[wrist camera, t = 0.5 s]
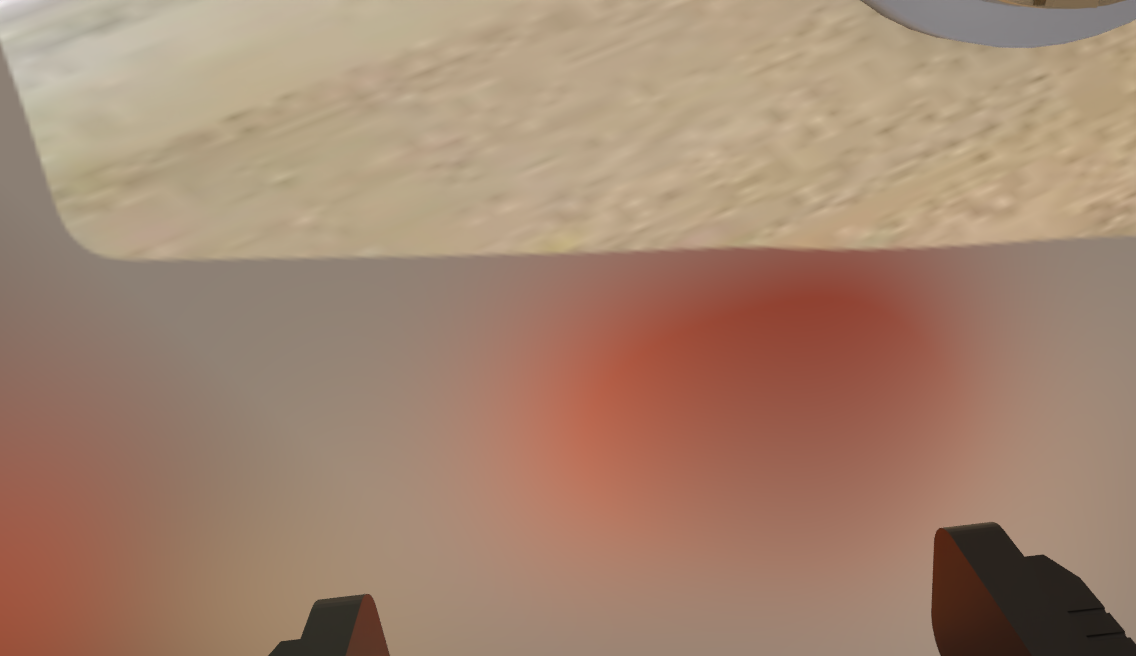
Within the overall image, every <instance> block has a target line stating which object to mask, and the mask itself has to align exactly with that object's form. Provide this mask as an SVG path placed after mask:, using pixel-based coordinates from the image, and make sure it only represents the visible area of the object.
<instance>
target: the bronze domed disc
mask: <svg viewBox="0 0 1136 656" xmlns="http://www.w3.org/2000/svg"><path fill="white" fill-rule="evenodd" d="M982 1H985V2H990V3H996V4H1002V5H1008V6H1017V7H1032V8H1046V9H1081V8H1097V7H1098V6H1106V5H1110V4H1114V3H1118V2H1122V1H1126V0H982Z"/></svg>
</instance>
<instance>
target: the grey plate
mask: <svg viewBox="0 0 1136 656" xmlns="http://www.w3.org/2000/svg"><path fill="white" fill-rule="evenodd" d="M861 1H862V2H864V3H865V4H867V5H868V6H869V7H871V8H872V9H874V10H875V11H877V12H878V13H880V14H881V15H882V16H884V17H886V18H888V19H890V20H892V21H894V22H896V23H898V24H901V25H903V26H905V27H907V28H909V29H912V30H915V31H918V32H921V33H925V34H928V35H931V36H934V37H938V38H944V39H950V40H956V41H962V42H968V43H975V44H981V45H988V46H994V47H1009V48H1034V47H1042V46H1050V45H1058V44H1065V43H1069V42H1073V41H1077V40H1081V39H1085V38H1088V37H1092V36H1096V35H1099V34H1102V33H1104V32H1107V31H1109V30H1112V29H1114V28H1117V27H1119V26H1122V25H1125V24H1127V23H1130V22H1132V21H1133V20H1135V19H1136V0H1126V1H1122V2H1118V3H1114V4H1110V5H1106V6H1098V7H1097V8H1081V9H1046V8H1032V7H1017V6H1008V5H1002V4H996V3H990V2H985V1H982V0H861Z"/></svg>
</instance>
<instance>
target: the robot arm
mask: <svg viewBox="0 0 1136 656" xmlns="http://www.w3.org/2000/svg"><path fill="white" fill-rule="evenodd" d="M931 616H932V626H933V631H934V636H935V640H936V644H937V647H938V650H939V653H940V655H941V656H1136V644H1135V643H1134V642H1133V640H1132V639H1131V638H1127V637H1126V636H1125V631H1124V630H1123V629H1122V627H1121V626H1120V625H1119V624H1118V623H1117V622H1116V620H1115V619H1114V618H1113V617H1112V615H1111V614H1110V613H1106V612H1105V608H1104V606H1103V605H1102V604H1101V602H1100V601H1099V600H1098V599H1097V598H1096V596H1095V595H1094V594H1093V593H1092V592H1091V591H1090V589H1089V588H1088V587H1087V586H1086V584H1085V583H1084V582H1083V581H1082V580H1081V578H1079V577H1078V576H1076V575H1075V574H1073V573H1072V572H1070V571H1068V570H1067V569H1065V568H1064V567H1062V566H1060V565H1059V564H1057V563H1056V562H1054V561H1053V560H1051V559H1050V558H1048V557H1046V556H1045V555H1035V556H1027V557H1024V556H1023V554H1022V553H1021V552H1020V550H1019V549H1018V548H1017V547H1016V545H1015V544H1014V543H1013V541H1012V540H1011V539H1010V538H1009V536H1008V535H1007V534H1006V533H1005V531H1004V530H1003V529H1002V528H1001V527H1000V525H998V524H997V523H994V522H988V523H979V524H971V525H963V526H954V527H945V528H939V529H938V530H937V532H936V534H935V538H934V559H933V583H932V609H931ZM269 656H390V655H389V651H388V648H387V644H386V640H385V637H384V633H383V630H382V626H381V622H380V619H379V615H378V612H377V608H376V605H375V602H374V600H373V598H372V596H371V595H369V594H363V595H355V596H347V597H337V598H330V599H322V600H317V601H316V602H315V603H314V605H313V607H312V609H311V612H310V615H309V617H308V620H307V623H306V626H305V628H304V631H303V634H302V637H301V639H298V640H289V641H281V642H280V643H279V644H278V645H277V646H276V648H275V649H274V650H273V651H272V652H271V653H270V654H269Z"/></svg>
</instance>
